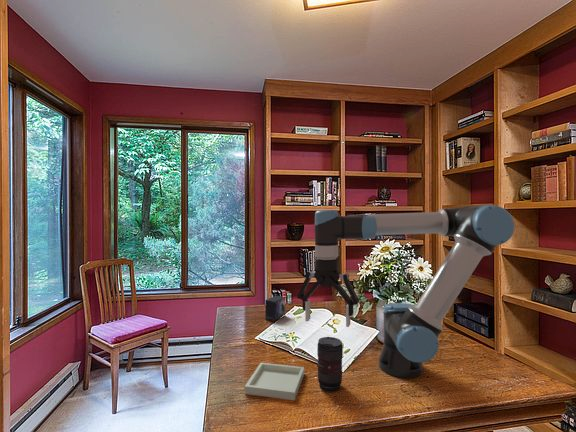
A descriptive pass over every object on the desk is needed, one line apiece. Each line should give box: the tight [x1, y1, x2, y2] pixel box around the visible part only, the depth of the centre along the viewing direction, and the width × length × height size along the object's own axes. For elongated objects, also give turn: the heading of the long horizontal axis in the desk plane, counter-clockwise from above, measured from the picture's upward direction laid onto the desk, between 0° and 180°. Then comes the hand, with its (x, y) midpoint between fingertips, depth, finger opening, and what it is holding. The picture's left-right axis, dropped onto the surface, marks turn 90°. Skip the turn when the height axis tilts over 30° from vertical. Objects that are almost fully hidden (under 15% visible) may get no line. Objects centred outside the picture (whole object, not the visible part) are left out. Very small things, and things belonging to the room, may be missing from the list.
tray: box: [244, 362, 305, 401], centre depth 108 cm, size 16×16×2 cm
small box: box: [264, 295, 286, 322], centre depth 172 cm, size 11×6×10 cm, turn 149°
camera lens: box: [316, 336, 344, 393], centre depth 106 cm, size 8×8×15 cm
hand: (327, 322), depth 106 cm, fingers open, 13 cm apart
